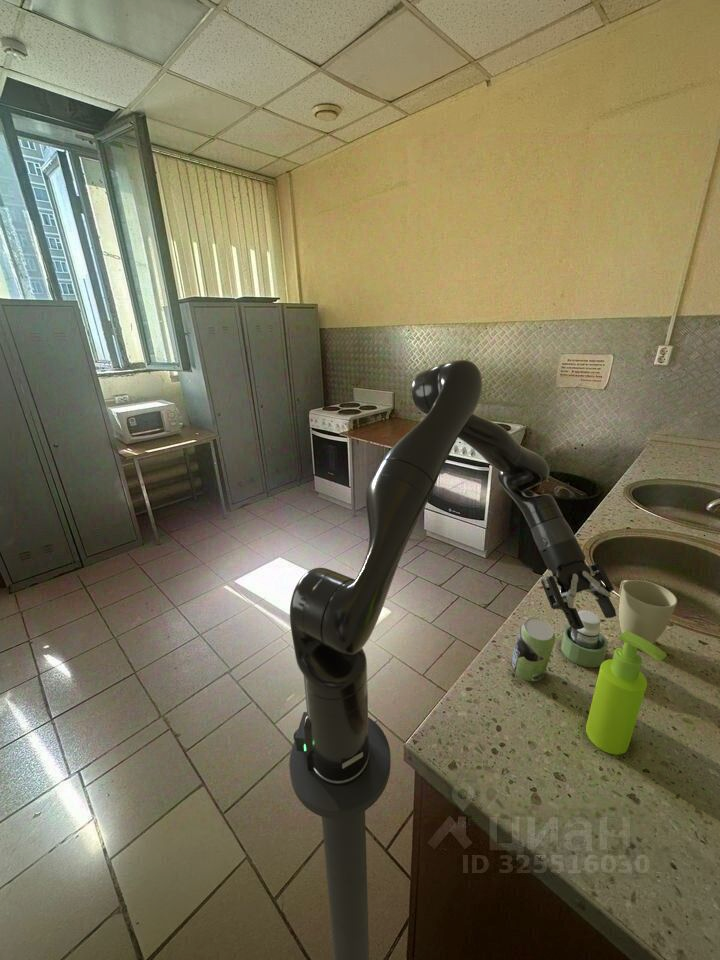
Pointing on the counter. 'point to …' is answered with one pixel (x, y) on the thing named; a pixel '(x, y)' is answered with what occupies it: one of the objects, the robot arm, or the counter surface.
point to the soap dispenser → (619, 695)
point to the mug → (645, 608)
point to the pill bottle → (587, 630)
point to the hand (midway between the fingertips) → (595, 623)
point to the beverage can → (533, 649)
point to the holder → (583, 650)
